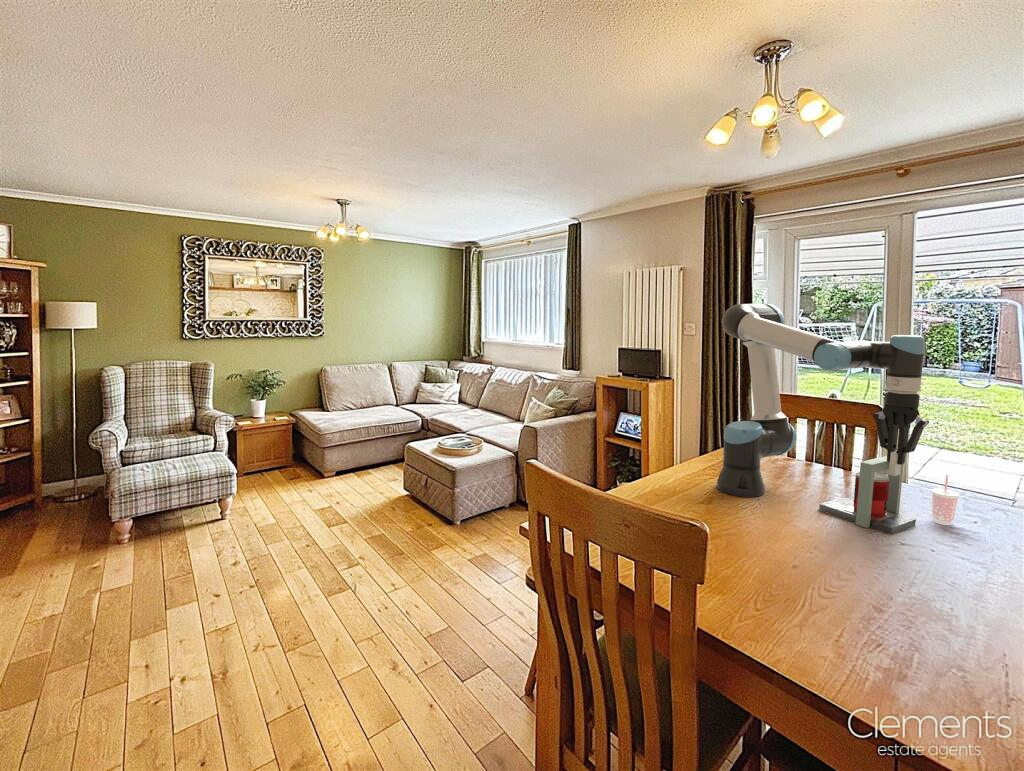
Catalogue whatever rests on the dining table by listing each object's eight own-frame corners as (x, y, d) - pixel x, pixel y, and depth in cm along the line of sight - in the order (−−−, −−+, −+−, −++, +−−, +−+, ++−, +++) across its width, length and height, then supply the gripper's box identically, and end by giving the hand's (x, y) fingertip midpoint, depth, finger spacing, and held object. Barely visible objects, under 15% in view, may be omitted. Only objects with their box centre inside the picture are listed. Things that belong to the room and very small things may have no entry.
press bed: (819, 509, 154) (819, 503, 154) (842, 503, 160) (843, 496, 159) (891, 534, 137) (891, 526, 136) (915, 526, 142) (916, 518, 141)
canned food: (891, 517, 142) (895, 480, 141) (860, 515, 144) (863, 479, 142) (878, 507, 150) (881, 472, 148) (848, 506, 151) (851, 471, 150)
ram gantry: (855, 524, 143) (860, 461, 140) (887, 513, 150) (892, 454, 147) (866, 527, 140) (872, 464, 138) (898, 517, 147) (904, 456, 145)
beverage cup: (943, 527, 141) (949, 479, 139) (922, 518, 147) (927, 472, 145) (962, 525, 142) (967, 477, 140) (940, 516, 148) (945, 471, 146)
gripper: (868, 389, 141) (861, 470, 144) (922, 396, 129) (913, 483, 133) (884, 387, 144) (876, 466, 148) (938, 393, 133) (928, 479, 136)
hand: (894, 474), depth 140 cm, fingers closed
